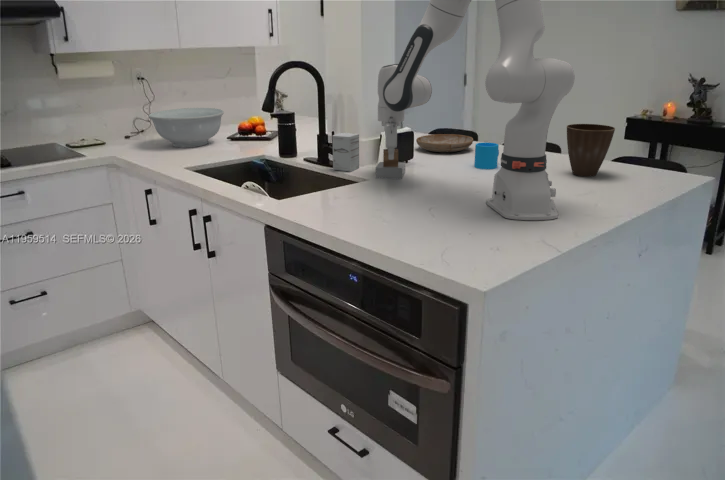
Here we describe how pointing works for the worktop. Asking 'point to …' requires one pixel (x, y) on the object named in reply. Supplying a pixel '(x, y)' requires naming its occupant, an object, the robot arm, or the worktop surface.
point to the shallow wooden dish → (444, 142)
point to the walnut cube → (390, 162)
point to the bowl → (187, 125)
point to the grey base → (390, 171)
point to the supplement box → (345, 151)
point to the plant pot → (588, 147)
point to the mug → (486, 155)
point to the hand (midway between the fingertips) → (390, 156)
